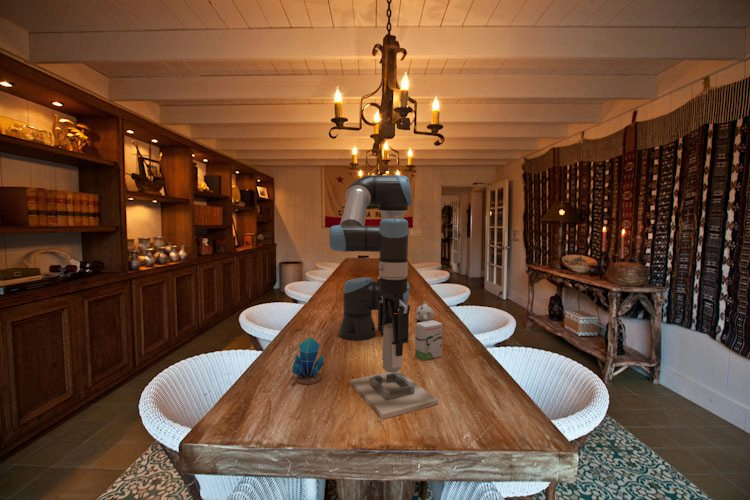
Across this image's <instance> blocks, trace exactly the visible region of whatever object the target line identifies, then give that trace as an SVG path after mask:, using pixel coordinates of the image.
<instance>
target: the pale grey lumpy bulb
mask: <svg viewBox="0 0 750 500" xmlns="http://www.w3.org/2000/svg"><path fill="white" fill-rule="evenodd" d="M435 314H436V313H435V310H434V309H433V308H432V307H431V306H429V304H428V301H425V300H424V301H423V303H422V304H421V305H419V306H417V308H416V314H415V319H416V320H418V321H420V322H425V321H431V320H434V318H435Z"/></svg>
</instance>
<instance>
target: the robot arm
mask: <svg viewBox="0 0 750 500" xmlns="http://www.w3.org/2000/svg"><path fill="white" fill-rule="evenodd" d="M411 189H412V188H411V183H410V179H409V177H408V176H406V175H398V174H394V175H393V174H388V175H386V174H385V175H384V174H383V175H381V174H379V175H378V174H377V175H376V174H374V175H373V174H369V175H365V176H361V177H359V178H357V179H356V180H354V181H353V182H352V183H350V185H349V186H348V187H347V189H346V191H345V195H344V200H345V204H344V208H343V212H342V216H341V220H340V222H339V224H338V225H332V226H330V228H329V234H328V235H329V236H328V241H329V248H330V249H331V250H332V251H335V252H342V253H346V252H370V253H371V252H372V253H373V252H376V253H379V260H378V261H379V262H378V263H379V265H378V266H377V267H378V269H379V270H378V272H379V273H378V276H377V277H376V278H377V281H373V278H372V277H366V276H364V277H357V278H352V279H349V280H346V281H345V282H344V284H343V292H342V294H343V317H342V318H341V319H342V320H341V323H340V326H339V327H338V328H339V330H338V335H339V336H340V338H342V339H346V340H350V341H351V340H352V341H363V340H369V339H373V338H375V337H376V333H377V332H380V335H381V338H382V341H381V343H382V344H381V353H382V354H381V360H382V361H383V328H384V325H385V324H388V323H392V326H393V336H394V342H392V368H397V367H401V368H402V367H403V355H404V354H403V352H404V351H403V350H404V349H403V348H404V344H407V343H409V323H410V322H409V321H410V320H409V319H410V318H409V317H410V312H411V311H410V310H411V305H409V304H408V302H409V295H410V282H408V279H407V277H408V276H409V275H408V274H409V273H408V270H409V269H408V268H409V263H408V262H409V259H408V255H409V254H408V251H409V232H410V231H409V222H408V220H407V219H405V216H404V215H406V213H407V212H408V210H409V209H408V208H409V207H411V206H412V203H413V201H412V190H411ZM369 206H376V207H378V208H377V211H378V212H379V213H380V214H381V220H380V221H379V225H365V223H366V217H367V209H368V207H369ZM372 311H377V329H376V325H375V322H374V319H373V314H372V313H373V312H372Z"/></svg>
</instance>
